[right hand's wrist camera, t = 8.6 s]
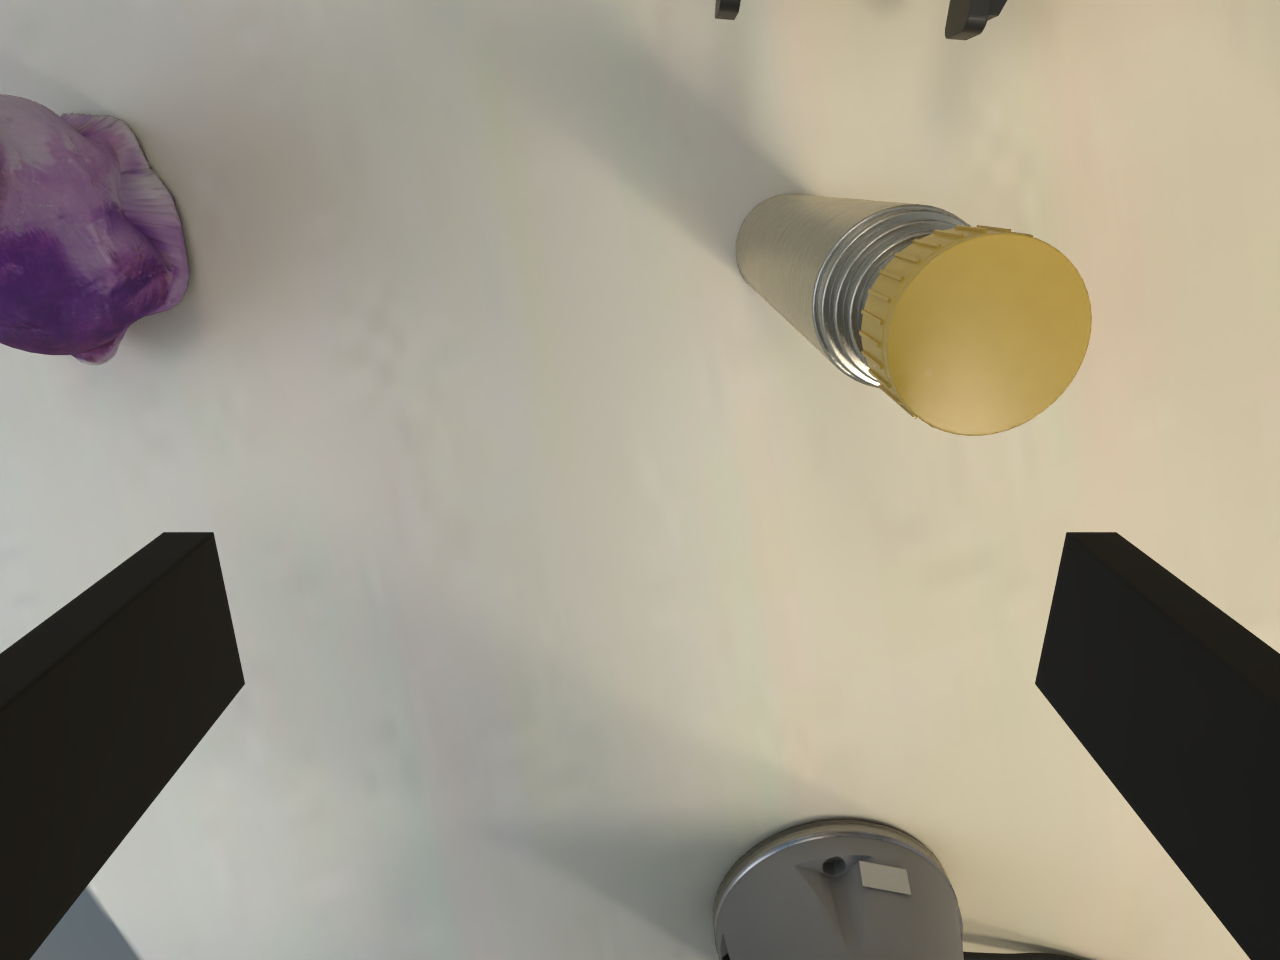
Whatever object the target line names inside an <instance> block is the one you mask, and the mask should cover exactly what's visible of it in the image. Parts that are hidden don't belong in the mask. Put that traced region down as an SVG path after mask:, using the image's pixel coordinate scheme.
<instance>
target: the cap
mask: <svg viewBox="0 0 1280 960" xmlns="http://www.w3.org/2000/svg"><path fill="white" fill-rule="evenodd" d="M933 232H934V233H933V234H930V235H928V236H926V237H923V238H921V239H914V240H913V243H912V244H911V245H909V246H908V247H907V248H905V249H904V250H903V251H901V252H900V253H898V252H897V253H895V254H894V256H895V258H893V259H892V260H891V261H890V262H889V264H888V265H887V266H886V267H885V268H884V270H882V269H881V270H880V271H879V273H880V275H879V277H878V278H877V280H876V281H875V283H874V285H873V287H872V289H869V290H868V293H869V296H868V298H867V301H866V304H865V308H864V310H862V311H861V314H863V317H862V327H861V331H859V335H861V336H862V346H863V351H861V353H862V355H863V356H864V357H865V358H866V361H867V364H868V366H869V368H870V369H868V372H869V373H870V374H871V375H872V376H873V377H875V378H876V380H877V381H878V382H879V384H880V385H879V386H878V387H879V388H880V389H881V390H882V391H884V392H885V393H886V394H887V395H888V396H889V397H891V398H892V399H893V400H894V401H895V402H896V403H897V404H899V405H900V406H901V407H902V408H903V409H904V410H905V411H907V412H908V413H909V414H910V415H911V416H912V417H914V418H915V419H916V418H917V417H918V418H920V419H921V420H922V421H924V422H925V423H927V424H929V425H930V426H931V427H934V428H937V429H940V430H942V431H945V432H949V433H953V434H958V435H967V436H977V435H988V434H995V433H998V432H1002V431H1006V430H1009V429H1012V428H1014V427H1017V426H1019V425H1021V424H1023V423H1025V422H1027V421H1029V420H1031V419H1033V418H1034V417H1036V416H1037V415H1039V414H1040V413H1041V412H1043V411H1044V410H1045V409H1047V408H1048V407H1049V406H1050V405H1051V404H1052V403H1054V402H1055V401H1056V400H1057V398H1058V397H1059V396H1060V395H1061V394H1062V393H1063V392H1064V391H1065V389H1066V388H1067V387H1068V386H1069V384H1070V383H1071V382H1072V380H1073V378H1074V377H1075V375H1076V373H1077V372H1078V370H1079V368H1080V366H1081V363H1082V361H1083V359H1084V357H1085V353H1086V350H1087V347H1088V344H1089V338H1090V333H1091V306H1090V301H1089V296H1088V292H1087V290H1086V287H1085V285H1084V282H1083V280H1082V278H1081V276H1080V274H1079V273H1078V271H1077V269H1076V268H1075V267H1074V265H1073V264H1072V263H1071V262H1070V261H1069V259H1068V258H1067V257H1065V256H1064V255H1063V254H1062V253H1061V252H1060V251H1059V250H1057V249H1056V248H1054V247H1053V246H1051V245H1049V244H1048V243H1046V242H1043V241H1041V240H1039V239H1037V238H1033V236H1032V235H1030V234H1023V233H1016V232H1011V229H1004V228H996V227H988V226H980V225H977V227H971V226H963V225H955V228H953V229H947V230H938V229H936V230H934V231H933Z"/></svg>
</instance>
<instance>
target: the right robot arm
mask: <svg viewBox="0 0 1280 960" xmlns="http://www.w3.org/2000/svg"><path fill="white" fill-rule="evenodd" d="M244 684H245V682H244V677H243V672H242V667H241V662H240V658H239V653H238V648H237V643H236V638H235V634H234V629H233V624H232V619H231V614H230V610H229V605H228V600H227V595H226V590H225V586H224V581H223V576H222V571H221V566H220V561H219V557H218V552H217V547H216V542H215V537H214V533H213V532H164V533H162V534H161V535H160V536H158V537H157V538H155V539H154V540H153V541H151V542H150V543H149V544H147V545H146V546H145V547H143V548H142V549H141V550H139V551H138V552H137V553H135V554H134V555H133V556H131V557H130V558H129V559H127V560H126V561H125V562H123V563H122V564H121V565H119V566H118V567H116V568H115V569H114V570H112V571H111V572H110V573H108V574H107V575H106V576H104V577H103V578H102V579H100V580H99V581H98V582H96V583H95V584H94V585H92V586H91V587H90V588H88V589H87V590H86V591H84V592H83V593H82V594H80V595H79V596H77V597H76V598H75V599H73V600H72V601H71V602H69V603H68V604H67V605H65V606H64V607H63V608H61V609H60V610H59V611H57V612H56V613H55V614H53V615H52V616H51V617H49V618H48V619H47V620H45V621H44V622H42V623H41V624H40V625H38V626H37V627H36V628H34V629H33V630H32V631H30V632H29V633H28V634H26V635H25V636H24V637H22V638H21V639H20V640H18V641H17V642H16V643H14V644H13V645H12V646H10V647H9V648H8V649H6V650H5V651H3V652H2V653H1V654H0V960H29V959H30V958H31V957H32V956H33V954H34V953H35V952H36V950H37V949H38V948H39V947H40V945H41V944H42V943H43V941H44V940H45V939H46V938H47V936H48V935H49V934H50V932H51V931H52V930H53V929H54V927H55V926H56V925H57V924H58V922H59V921H60V920H61V918H62V917H63V916H64V915H65V913H66V912H67V911H68V909H69V908H70V907H71V906H72V904H73V903H74V902H75V901H76V899H77V898H78V897H79V895H80V894H81V893H82V892H83V890H84V889H85V888H86V886H87V885H88V884H89V883H90V881H91V880H92V879H93V878H94V876H95V875H96V874H97V872H98V871H99V870H100V869H101V867H102V866H103V865H104V863H105V862H106V861H107V860H108V858H109V857H110V856H111V854H112V853H113V852H114V851H115V849H116V848H117V847H118V846H119V844H120V843H121V842H122V840H123V839H124V838H125V837H126V835H127V834H128V833H129V831H130V830H131V829H132V828H133V826H134V825H135V824H136V822H137V821H138V820H139V819H140V817H141V816H142V815H143V814H144V812H145V811H146V810H147V808H148V807H149V806H150V805H151V803H152V802H153V801H154V799H155V798H156V797H157V796H158V794H159V793H160V792H161V791H162V789H163V788H164V787H165V785H166V784H167V783H168V782H169V780H170V779H171V778H172V776H173V775H174V774H175V773H176V771H177V770H178V769H179V767H180V766H181V765H182V764H183V762H184V761H185V760H186V759H187V757H188V756H189V755H190V753H191V752H192V751H193V750H194V748H195V747H196V746H197V744H198V743H199V742H200V741H201V739H202V738H203V737H204V735H205V734H206V733H207V732H208V730H209V729H210V728H211V727H212V725H213V724H214V723H215V721H216V720H217V719H218V718H219V716H220V715H221V714H222V712H223V711H224V710H225V709H226V707H227V706H228V705H229V703H230V702H231V701H232V700H233V698H234V697H235V696H236V695H237V693H238V692H239V691H240V689H241V688H242V687H243V686H244ZM1035 684H1036V686H1037V687H1038V688H1039V689H1040V691H1041V692H1042V693H1043V695H1044V696H1045V697H1046V698H1047V700H1048V701H1049V702H1050V703H1051V705H1052V706H1053V707H1054V709H1055V710H1056V711H1057V712H1058V714H1059V715H1060V716H1061V718H1062V719H1063V720H1064V721H1065V723H1066V724H1067V725H1068V727H1069V728H1070V729H1071V730H1072V732H1073V733H1074V734H1075V735H1076V737H1077V738H1078V739H1079V741H1080V742H1081V743H1082V744H1083V746H1084V747H1085V748H1086V750H1087V751H1088V752H1089V753H1090V755H1091V756H1092V757H1093V759H1094V760H1095V761H1096V762H1097V764H1098V765H1099V766H1100V767H1101V769H1102V770H1103V771H1104V773H1105V774H1106V775H1107V776H1108V778H1109V779H1110V780H1111V782H1112V783H1113V784H1114V785H1115V787H1116V788H1117V789H1118V791H1119V792H1120V793H1121V794H1122V796H1123V797H1124V798H1125V799H1126V801H1127V802H1128V803H1129V805H1130V806H1131V807H1132V808H1133V810H1134V811H1135V812H1136V814H1137V815H1138V816H1139V817H1140V819H1141V820H1142V821H1143V822H1144V824H1145V825H1146V826H1147V828H1148V829H1149V830H1150V831H1151V833H1152V834H1153V835H1154V837H1155V838H1156V839H1157V840H1158V842H1159V843H1160V844H1161V846H1162V847H1163V848H1164V849H1165V851H1166V852H1167V853H1168V854H1169V856H1170V857H1171V858H1172V860H1173V861H1174V862H1175V863H1176V865H1177V866H1178V867H1179V869H1180V870H1181V871H1182V872H1183V874H1184V875H1185V876H1186V878H1187V879H1188V880H1189V881H1190V883H1191V884H1192V885H1193V886H1194V888H1195V889H1196V890H1197V892H1198V893H1199V894H1200V895H1201V897H1202V898H1203V899H1204V901H1205V902H1206V903H1207V904H1208V906H1209V907H1210V908H1211V909H1212V911H1213V912H1214V913H1215V915H1216V916H1217V917H1218V918H1219V920H1220V921H1221V922H1222V924H1223V925H1224V926H1225V927H1226V929H1227V930H1228V931H1229V933H1230V934H1231V935H1232V936H1233V938H1234V939H1235V940H1236V941H1237V943H1238V944H1239V945H1240V947H1241V948H1242V949H1243V950H1244V952H1245V953H1246V954H1247V956H1248V957H1249V958H1250V959H1251V960H1280V654H1279V653H1278V652H1277V651H1275V650H1274V649H1272V648H1271V647H1270V646H1268V645H1267V644H1266V643H1264V642H1263V641H1262V640H1260V639H1259V638H1258V637H1256V636H1255V635H1254V634H1252V633H1251V632H1250V631H1248V630H1247V629H1246V628H1244V627H1243V626H1242V625H1240V624H1239V623H1238V622H1236V621H1235V620H1233V619H1232V618H1231V617H1229V616H1228V615H1227V614H1225V613H1224V612H1223V611H1221V610H1220V609H1219V608H1217V607H1216V606H1215V605H1213V604H1212V603H1211V602H1209V601H1208V600H1207V599H1205V598H1204V597H1203V596H1201V595H1200V594H1198V593H1197V592H1196V591H1194V590H1193V589H1192V588H1190V587H1189V586H1188V585H1186V584H1185V583H1184V582H1182V581H1181V580H1180V579H1178V578H1177V577H1176V576H1174V575H1173V574H1172V573H1170V572H1169V571H1168V570H1166V569H1165V568H1164V567H1162V566H1161V565H1159V564H1158V563H1157V562H1155V561H1154V560H1153V559H1151V558H1150V557H1149V556H1147V555H1146V554H1145V553H1143V552H1142V551H1141V550H1139V549H1138V548H1137V547H1135V546H1134V545H1133V544H1131V543H1130V542H1129V541H1127V540H1126V539H1125V538H1123V537H1122V536H1120V535H1119V534H1118V533H1116V532H1067V533H1066V537H1065V542H1064V547H1063V552H1062V557H1061V561H1060V566H1059V571H1058V576H1057V581H1056V586H1055V590H1054V595H1053V600H1052V605H1051V610H1050V614H1049V619H1048V624H1047V629H1046V634H1045V638H1044V643H1043V648H1042V653H1041V658H1040V662H1039V667H1038V672H1037V677H1036V682H1035ZM713 923H714V933H715V943H716V948H717V952H718V956H719V959H720V960H1079V959H1075V958H1071V957H1066V956H1061V955H1056V954H1048V953H1018V954H998V953H975V952H963V948H962V945H963V944H962V935H963V925H962V918H961V913H960V909H959V906H958V902H957V898H956V895H955V893H954V890H953V888H952V886H951V883H950V881H949V879H948V877H947V874H946V872H945V871H944V869H943V867H942V865H941V864H940V862H939V861H938V860H937V858H936V857H935V856H934V855H933V854H932V853H931V852H930V851H929V850H928V849H927V848H926V847H925V846H924V845H922V844H921V843H920V842H918V841H917V840H915V839H914V838H912V837H910V836H908V835H907V834H905V833H903V832H900V831H898V830H896V829H893V828H890V827H887V826H884V825H880V824H876V823H872V822H866V821H858V820H828V821H820V822H813V823H808V824H804V825H800V826H797V827H794V828H790V829H787V830H785V831H782V832H780V833H778V834H775V835H773V836H771V837H769V838H767V839H766V840H764V841H762V842H761V843H759V844H758V845H756V846H755V847H753V848H752V849H751V850H749V851H748V852H747V853H746V854H744V855H743V856H742V857H741V858H740V859H739V860H738V861H737V862H736V863H735V864H734V865H733V867H732V868H731V869H730V871H729V872H728V873H727V875H726V876H725V878H724V880H723V881H722V883H721V885H720V887H719V890H718V892H717V895H716V898H715V903H714V909H713Z"/></svg>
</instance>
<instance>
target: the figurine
mask: <svg viewBox="0 0 1280 960" xmlns="http://www.w3.org/2000/svg"><path fill="white" fill-rule="evenodd" d="M189 273H190V271H189V266H188V259H187V253H186V247H185V242H184V236H183V231H182V225H181V221H180V218H179V215H178V212H177V209H176V207H175V204H174V197H173V196H172V195H171V194H170V192H169V191H168V190H167V188H166V187H165V186H164V184H163V183H162V182H161V180H160V179H159V178H158V176H157V175H156V173H154V172H153V171H152V170H151V169H150V168H149V164H148V162H147V161H146V159H145V157H144V155H143V152H142V149H141V148H140V146H139V143H138V140H137V139H136V137H135V135H134V133H133V132H132V131H131V129H130V128H129V126H128V125H127V124H126V123H125V122H123V121H121V120H119V119H118V120H117V119H116V118H115V117H112V116H105V115H102V116H100V117H98V116H97V115H95V116H91V115H88V116H86V115H85V114H82V115H79V114H75V115H74V114H72V113H71V114H65V113H64V114H63V115H61V116H60V117H59V116H58V115H57V114H55V113H54V112H53V111H51V110H50V109H48V108H47V107H45V106H43V105H41V104H39V103H36V102H34V101H32V100H29V99H25V98H21V97H15V96H10V95H2V94H0V343H2V344H4V345H7V346H10V347H12V348H16V349H20V350H24V351H27V352H32V353H39V354H47V355H72V356H74V357H75V358H77V359H78V360H79V361H81V362H83V363H86V364H90V365H99V364H103V363H105V362H108V361H109V360H110V359H111V358H113V357H114V356H115V354H116V352H117V349H118V347H119V344H120V342H121V340H122V338H123V336H124V334H125V332H126V330H127V329H128V327H129V326H130V325H131V324H132V323H133V322H135V321H136V320H138V319H140V318H142V317H144V316H147V315H151V314H155V313H159V312H162V311H166V310H168V309H170V308H172V307H174V306H175V305H177V304H178V303H179V302H180V301H181V299H182V298H183V296H184V294H185V291H186V289H187V285H188V281H189Z"/></svg>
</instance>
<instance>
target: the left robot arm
mask: <svg viewBox="0 0 1280 960" xmlns="http://www.w3.org/2000/svg"><path fill="white" fill-rule="evenodd" d="M740 1H741V0H716V8H715V18H716V19H728V20H734V19H735V17H736V16H737V14H738V12H739V7H740ZM1006 1H1007V0H950V5H949V10H948V16H947V21H946V27H945V37H946V38H947V39H957V40H967V39H970V38H972V37H974V36H977V35H979V34H980V33H981V32H982V31H983V29H984V27H985V25H986V22H987V21H988V20H990V19H992V18H994V17H996V16H998V15H999V14H1000V12H1001V10H1002V8H1003V7H1004V5H1005V3H1006Z"/></svg>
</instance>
